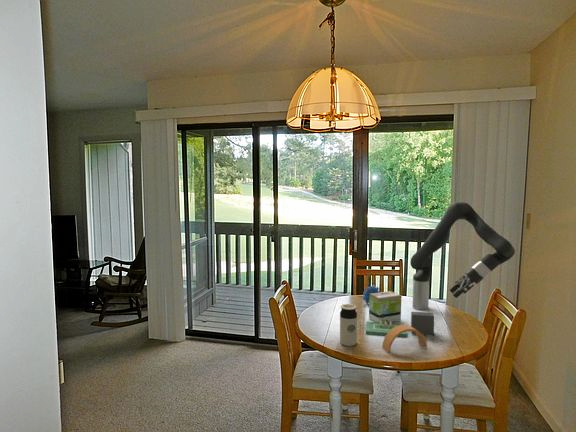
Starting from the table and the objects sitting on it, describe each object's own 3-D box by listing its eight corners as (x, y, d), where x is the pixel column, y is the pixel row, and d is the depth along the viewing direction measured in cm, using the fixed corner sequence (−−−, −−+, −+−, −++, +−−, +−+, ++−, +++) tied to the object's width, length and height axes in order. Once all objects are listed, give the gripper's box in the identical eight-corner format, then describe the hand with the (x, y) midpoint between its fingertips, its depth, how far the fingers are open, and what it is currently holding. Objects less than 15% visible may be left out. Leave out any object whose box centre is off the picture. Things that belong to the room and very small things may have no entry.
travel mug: (339, 339, 187) (339, 303, 185) (355, 339, 186) (355, 303, 185) (340, 346, 179) (341, 308, 177) (357, 346, 178) (358, 309, 177)
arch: (382, 347, 177) (382, 326, 176) (420, 343, 182) (420, 322, 181) (388, 353, 172) (388, 331, 171) (427, 348, 176) (427, 327, 176)
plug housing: (410, 330, 198) (411, 311, 197) (432, 331, 195) (432, 312, 194) (411, 334, 193) (412, 314, 192) (433, 335, 190) (434, 316, 190)
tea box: (379, 324, 206) (379, 298, 205) (368, 319, 215) (368, 293, 214) (401, 320, 212) (401, 294, 211) (389, 315, 221) (390, 290, 220)
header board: (366, 324, 207) (366, 316, 207) (404, 326, 203) (404, 318, 202) (365, 333, 193) (365, 325, 193) (406, 337, 189) (407, 328, 189)
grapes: (376, 300, 248) (376, 282, 247) (381, 304, 242) (381, 285, 241) (359, 302, 245) (360, 284, 244) (364, 305, 239) (364, 286, 238)
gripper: (468, 263, 193) (444, 285, 197) (476, 269, 179) (449, 292, 183) (479, 274, 193) (455, 295, 196) (488, 281, 179) (461, 303, 182)
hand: (452, 294), depth 189 cm, fingers open, 8 cm apart
